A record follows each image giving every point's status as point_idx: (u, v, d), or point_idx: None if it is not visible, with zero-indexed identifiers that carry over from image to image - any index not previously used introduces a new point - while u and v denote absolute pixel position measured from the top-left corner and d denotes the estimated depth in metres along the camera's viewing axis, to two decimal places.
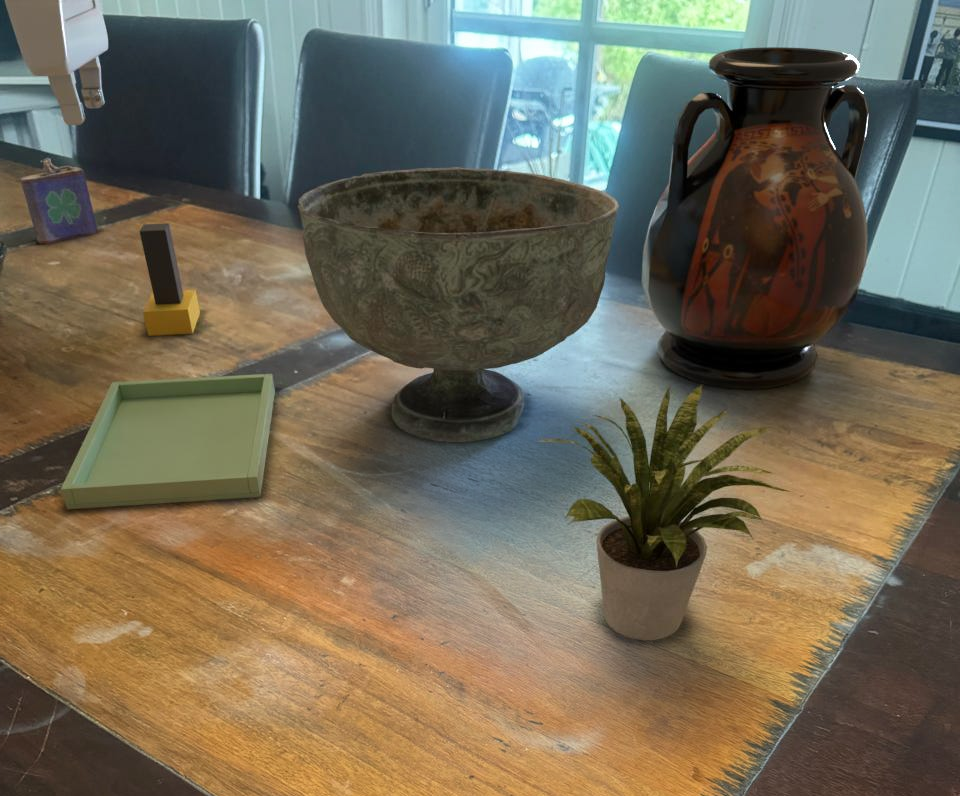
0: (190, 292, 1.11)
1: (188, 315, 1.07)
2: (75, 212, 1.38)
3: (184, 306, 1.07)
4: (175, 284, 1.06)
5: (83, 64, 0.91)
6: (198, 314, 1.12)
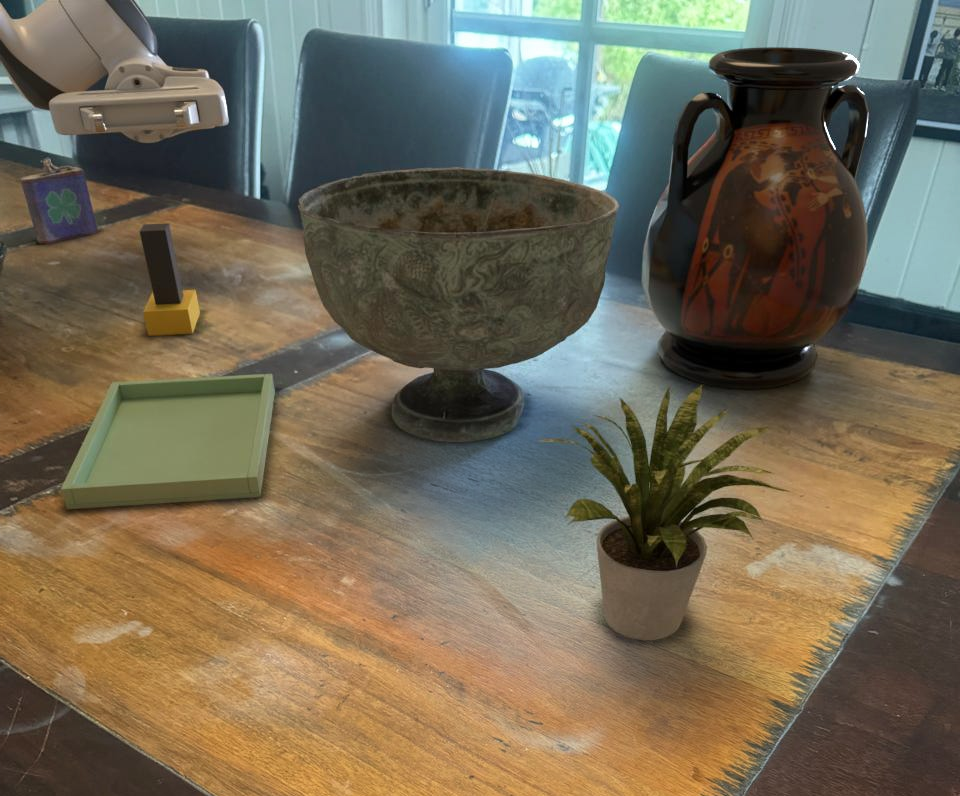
0: (190, 292, 1.11)
1: (188, 315, 1.07)
2: (75, 212, 1.38)
3: (184, 306, 1.07)
4: (175, 284, 1.06)
5: (172, 128, 1.13)
6: (198, 314, 1.12)
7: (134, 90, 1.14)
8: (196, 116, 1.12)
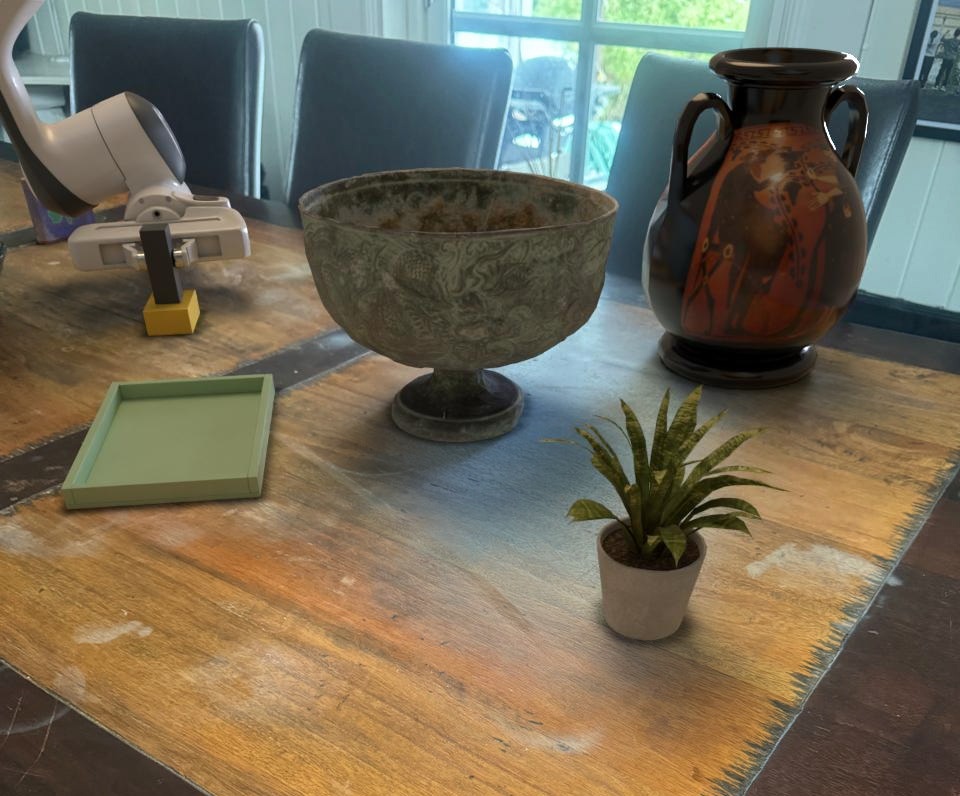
0: (190, 292, 1.11)
1: (188, 315, 1.07)
2: None
3: (184, 306, 1.07)
4: (175, 284, 1.06)
5: (193, 262, 1.11)
6: (198, 314, 1.12)
7: (154, 222, 1.12)
8: (195, 254, 1.09)
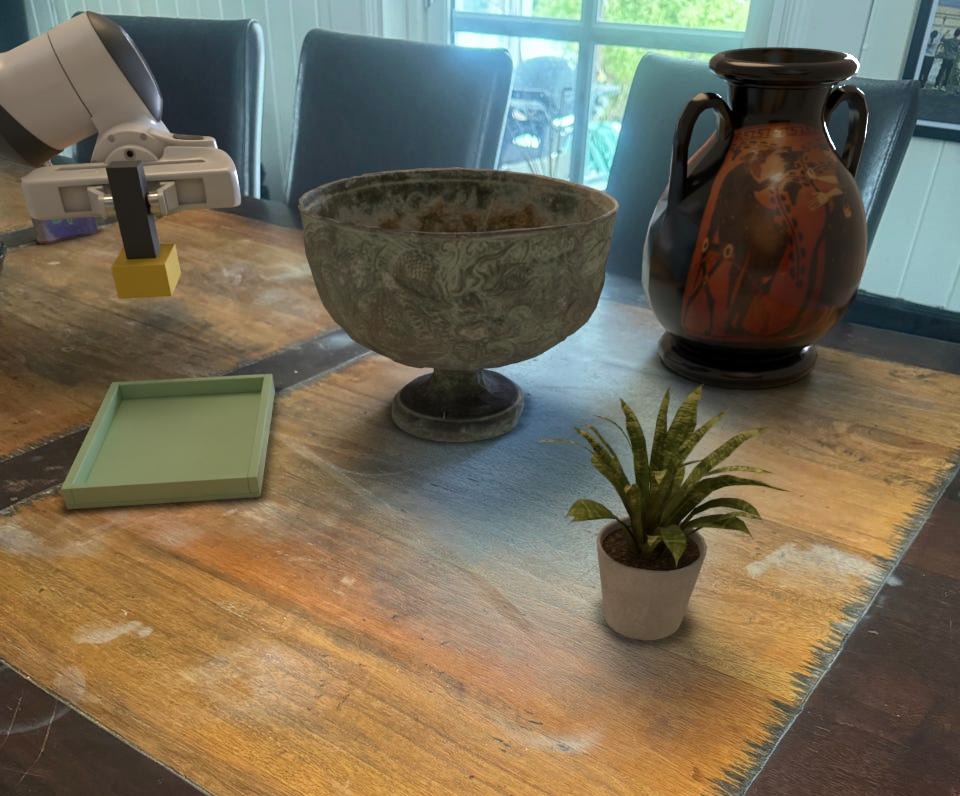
0: (168, 246, 0.93)
1: (165, 271, 0.89)
2: None
3: (161, 261, 0.89)
4: (150, 234, 0.89)
5: (172, 210, 0.93)
6: (178, 273, 0.95)
7: None
8: (175, 199, 0.91)
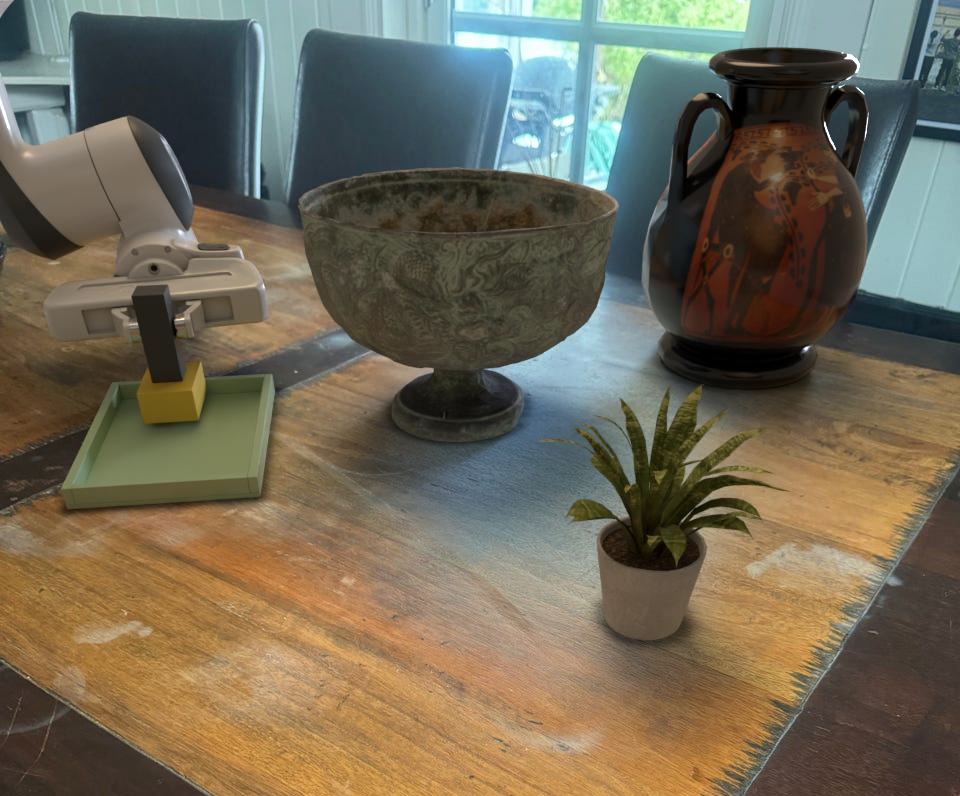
0: (194, 365, 0.90)
1: (192, 397, 0.86)
2: None
3: (188, 386, 0.86)
4: (176, 359, 0.86)
5: None
6: (204, 390, 0.92)
7: (150, 278, 0.91)
8: (202, 319, 0.88)
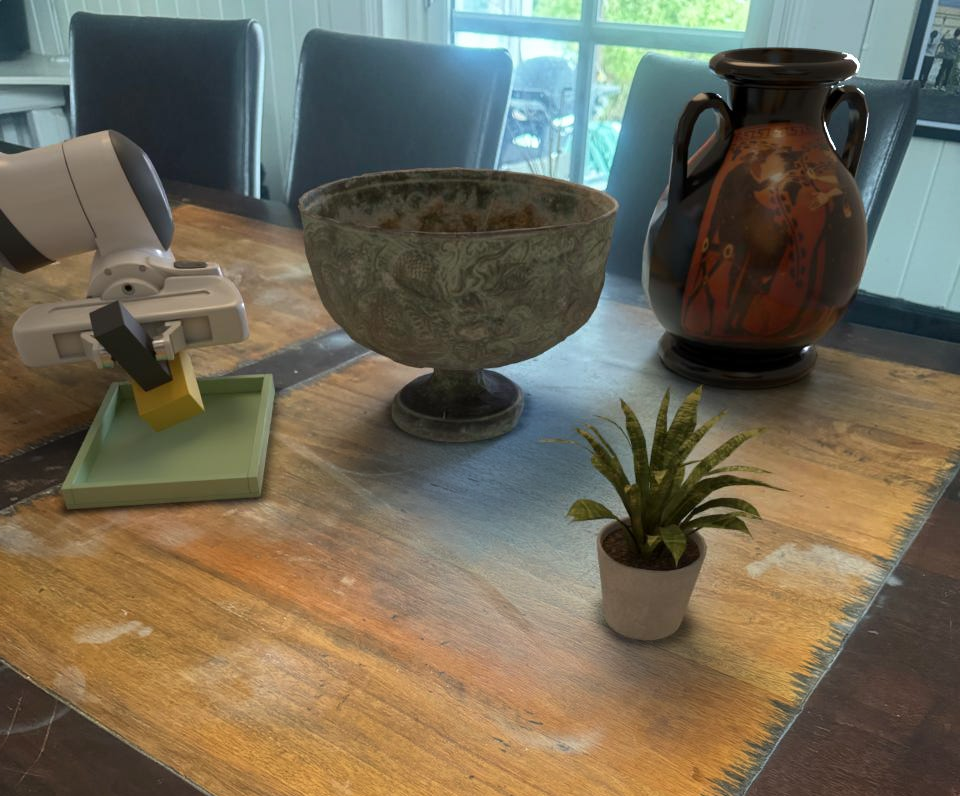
0: None
1: (192, 397, 0.84)
2: None
3: (182, 387, 0.84)
4: (159, 366, 0.83)
5: None
6: (189, 360, 0.88)
7: (125, 299, 0.87)
8: (182, 340, 0.84)
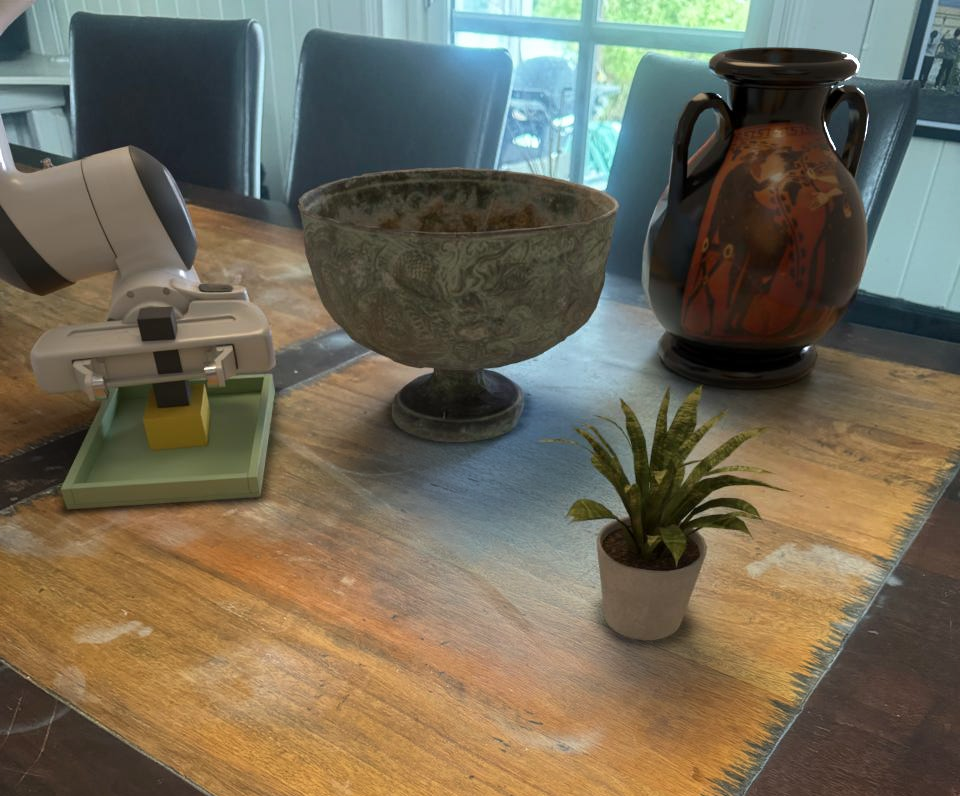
0: (199, 388, 0.87)
1: (201, 421, 0.83)
2: None
3: (196, 410, 0.84)
4: (183, 383, 0.83)
5: (199, 378, 0.83)
6: (209, 414, 0.89)
7: None
8: (233, 366, 0.81)
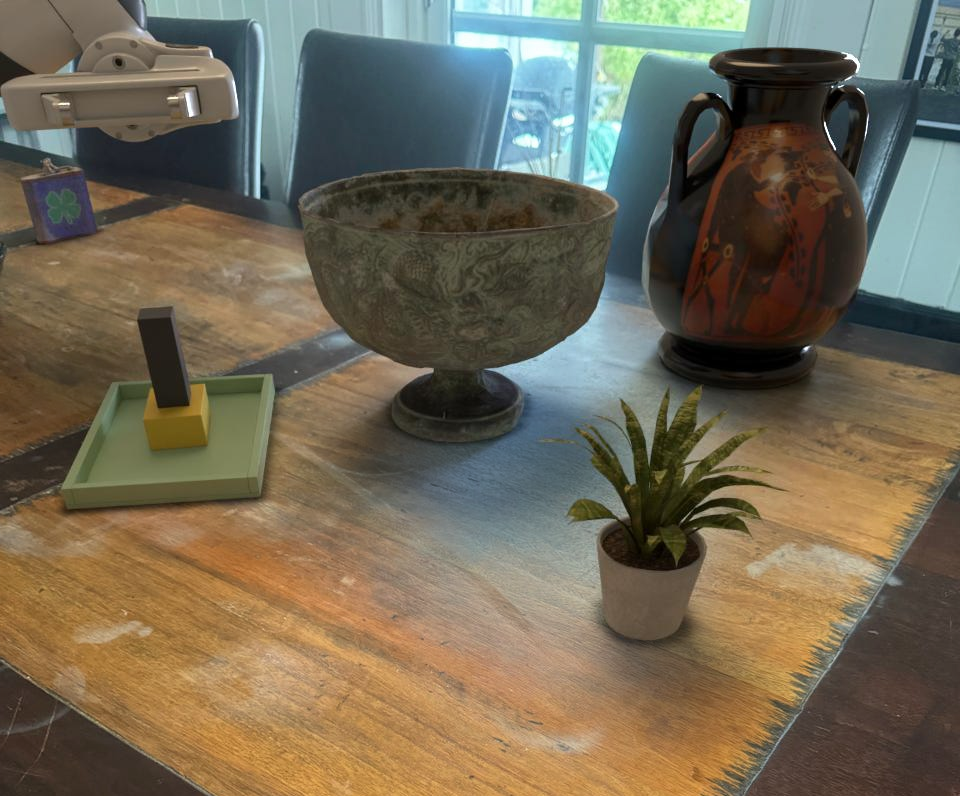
0: (199, 388, 0.87)
1: (201, 421, 0.83)
2: (75, 212, 1.38)
3: (196, 410, 0.84)
4: (183, 383, 0.83)
5: (164, 122, 0.86)
6: (209, 414, 0.89)
7: (115, 72, 0.87)
8: (196, 106, 0.85)
